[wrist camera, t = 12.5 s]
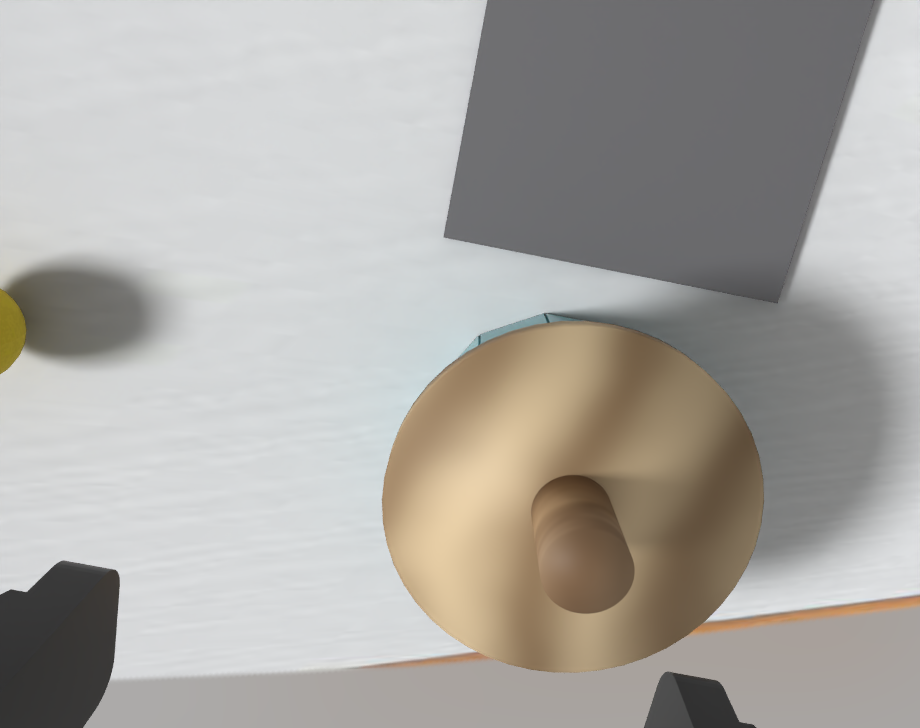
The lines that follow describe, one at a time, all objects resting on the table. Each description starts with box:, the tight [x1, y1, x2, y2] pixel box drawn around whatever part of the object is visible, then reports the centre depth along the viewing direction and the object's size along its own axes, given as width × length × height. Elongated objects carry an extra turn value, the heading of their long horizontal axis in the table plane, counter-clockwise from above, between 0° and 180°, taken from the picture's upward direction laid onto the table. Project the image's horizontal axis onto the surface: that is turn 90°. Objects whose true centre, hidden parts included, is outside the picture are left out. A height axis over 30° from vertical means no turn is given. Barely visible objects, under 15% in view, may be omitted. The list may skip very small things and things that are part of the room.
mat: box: [444, 0, 874, 303], centre depth 36 cm, size 18×18×1 cm
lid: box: [382, 321, 764, 673], centre depth 31 cm, size 17×17×6 cm
